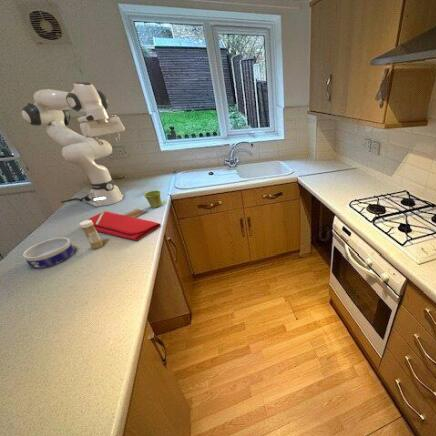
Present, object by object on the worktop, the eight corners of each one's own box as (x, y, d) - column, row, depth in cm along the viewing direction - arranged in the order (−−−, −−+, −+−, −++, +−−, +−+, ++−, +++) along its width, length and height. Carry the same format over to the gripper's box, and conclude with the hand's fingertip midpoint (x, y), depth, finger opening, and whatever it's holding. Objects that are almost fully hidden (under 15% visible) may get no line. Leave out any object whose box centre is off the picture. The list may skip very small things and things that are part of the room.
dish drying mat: (135, 241, 116) (133, 235, 115) (81, 228, 130) (78, 222, 128) (161, 226, 129) (159, 220, 127) (109, 215, 142) (107, 209, 141)
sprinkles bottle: (90, 246, 114) (77, 222, 107) (102, 242, 117) (90, 218, 110) (93, 250, 111) (80, 225, 105) (105, 245, 114) (92, 221, 108)
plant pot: (157, 209, 148) (153, 196, 143) (144, 208, 149) (140, 195, 145) (167, 203, 156) (163, 190, 151) (155, 202, 157) (150, 190, 153)
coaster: (122, 216, 141) (122, 215, 141) (136, 209, 148) (135, 209, 148) (133, 218, 138) (132, 218, 138) (146, 212, 145) (146, 211, 145)
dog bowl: (21, 272, 99) (12, 260, 96) (43, 251, 112) (36, 240, 109) (64, 264, 102) (57, 253, 99) (81, 245, 115) (75, 234, 112)
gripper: (114, 114, 137) (124, 139, 143) (73, 119, 121) (87, 147, 127) (120, 113, 134) (131, 138, 140) (80, 118, 118) (94, 146, 124)
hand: (110, 143), depth 134 cm, fingers open, 8 cm apart
